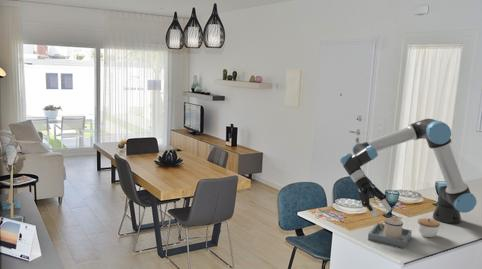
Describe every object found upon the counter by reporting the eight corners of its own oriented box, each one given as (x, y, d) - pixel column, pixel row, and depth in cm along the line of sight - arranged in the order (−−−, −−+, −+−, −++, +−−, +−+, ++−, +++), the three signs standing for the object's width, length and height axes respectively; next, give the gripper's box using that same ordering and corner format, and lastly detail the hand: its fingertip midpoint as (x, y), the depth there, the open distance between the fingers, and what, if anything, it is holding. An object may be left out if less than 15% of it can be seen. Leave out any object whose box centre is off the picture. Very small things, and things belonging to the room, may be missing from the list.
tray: (411, 236, 220) (411, 230, 220) (404, 248, 205) (405, 241, 205) (376, 228, 230) (377, 222, 229) (367, 239, 214) (368, 233, 214)
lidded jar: (428, 240, 216) (430, 223, 214) (412, 233, 225) (413, 216, 224) (442, 237, 220) (444, 220, 219) (426, 230, 230) (427, 214, 228)
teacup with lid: (405, 238, 215) (407, 217, 214) (395, 242, 210) (397, 220, 208) (384, 231, 225) (386, 210, 223) (374, 235, 219) (376, 213, 217)
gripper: (368, 179, 238) (390, 211, 229) (342, 186, 221) (365, 221, 213) (377, 172, 233) (400, 205, 224) (351, 179, 216) (375, 214, 208)
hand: (383, 213), depth 218 cm, fingers open, 13 cm apart
